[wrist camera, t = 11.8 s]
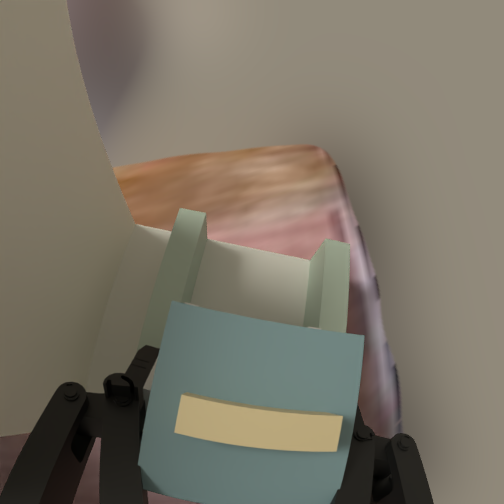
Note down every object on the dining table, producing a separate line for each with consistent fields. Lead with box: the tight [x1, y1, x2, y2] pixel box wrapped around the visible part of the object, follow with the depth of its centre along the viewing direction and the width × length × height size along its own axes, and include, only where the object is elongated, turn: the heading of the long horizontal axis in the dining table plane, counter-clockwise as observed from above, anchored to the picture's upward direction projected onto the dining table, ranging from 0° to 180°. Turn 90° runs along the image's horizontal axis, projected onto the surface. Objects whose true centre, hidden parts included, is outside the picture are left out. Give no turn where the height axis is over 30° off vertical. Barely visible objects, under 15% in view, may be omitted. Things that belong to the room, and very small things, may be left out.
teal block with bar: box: [138, 301, 365, 504], centre depth 11 cm, size 6×6×12 cm
